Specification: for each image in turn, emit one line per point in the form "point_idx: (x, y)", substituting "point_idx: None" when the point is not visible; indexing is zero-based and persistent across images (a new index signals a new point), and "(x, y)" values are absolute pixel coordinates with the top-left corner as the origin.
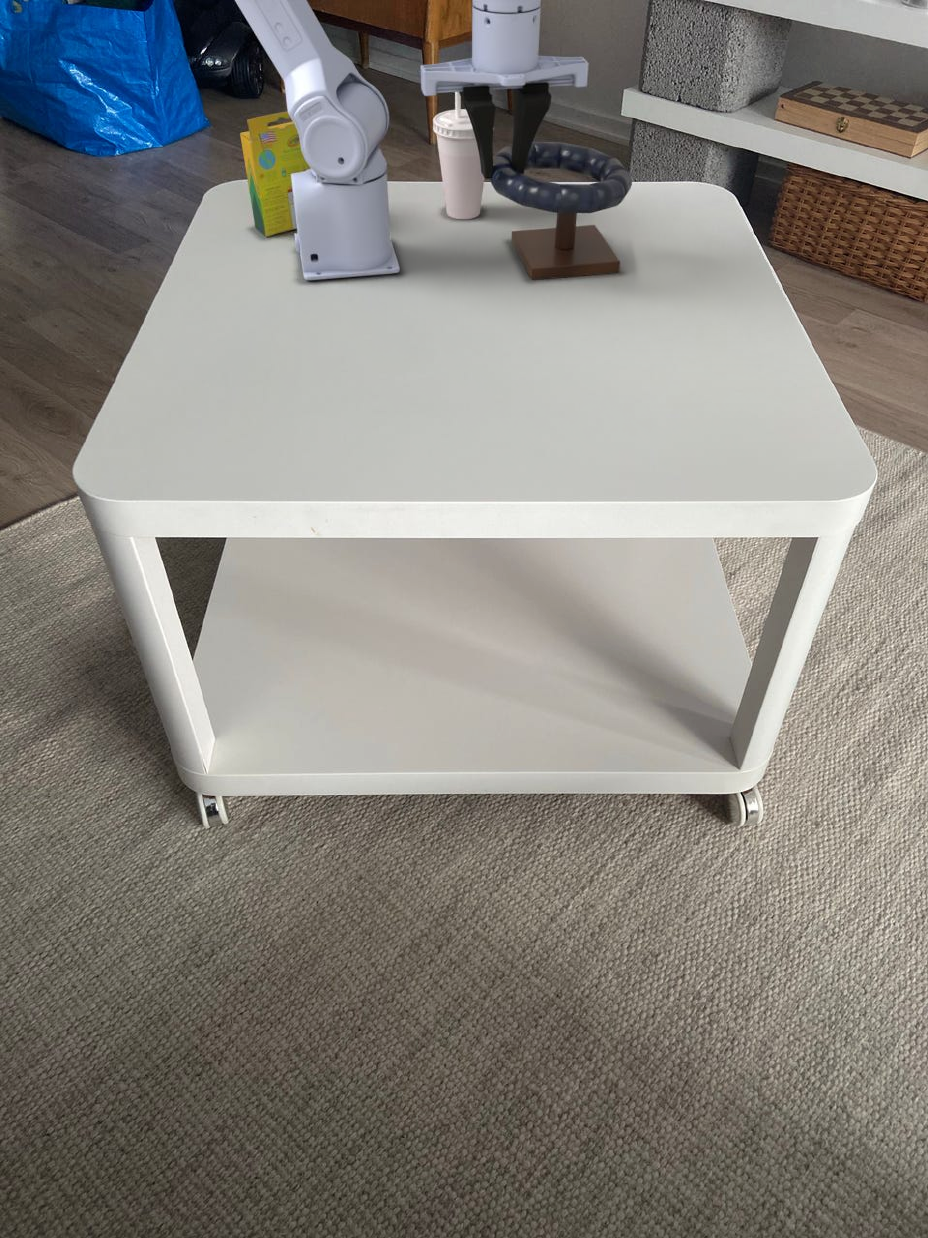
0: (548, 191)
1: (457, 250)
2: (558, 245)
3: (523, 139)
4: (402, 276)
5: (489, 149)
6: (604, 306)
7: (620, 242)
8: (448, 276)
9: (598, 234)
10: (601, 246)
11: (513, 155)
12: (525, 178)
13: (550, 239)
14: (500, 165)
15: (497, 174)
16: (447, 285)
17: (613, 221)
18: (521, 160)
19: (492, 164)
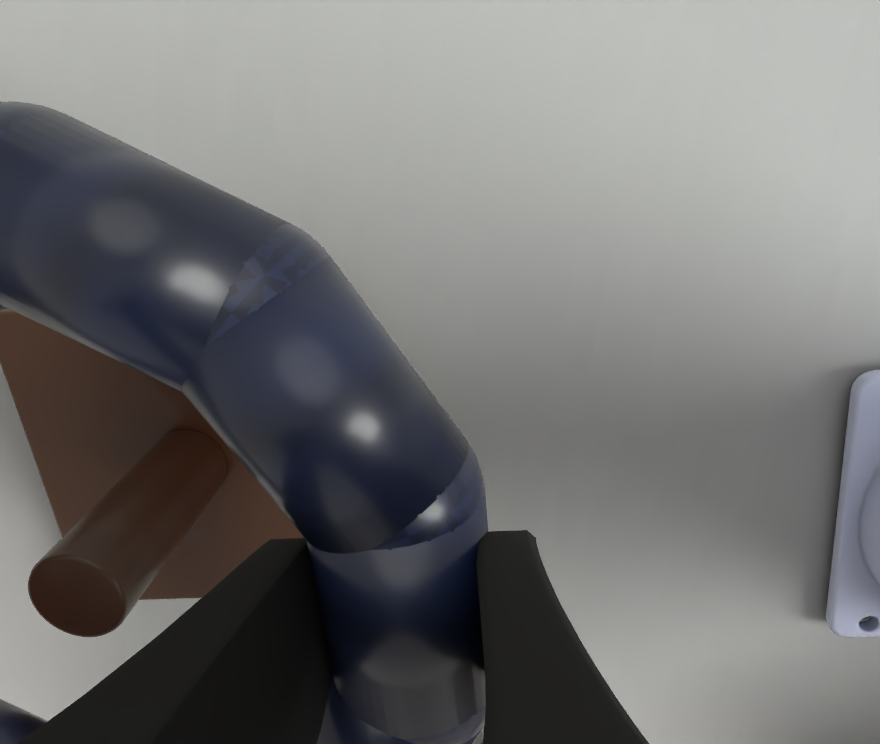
0: (61, 170)
1: (585, 533)
2: (211, 445)
3: (156, 709)
4: (842, 356)
5: (515, 655)
6: (58, 14)
7: (17, 522)
8: (657, 337)
9: (69, 530)
10: (56, 438)
11: (304, 708)
12: (232, 351)
13: (242, 513)
14: (414, 604)
15: (450, 500)
16: (676, 261)
17: (44, 658)
18: (243, 590)
19: (484, 574)
